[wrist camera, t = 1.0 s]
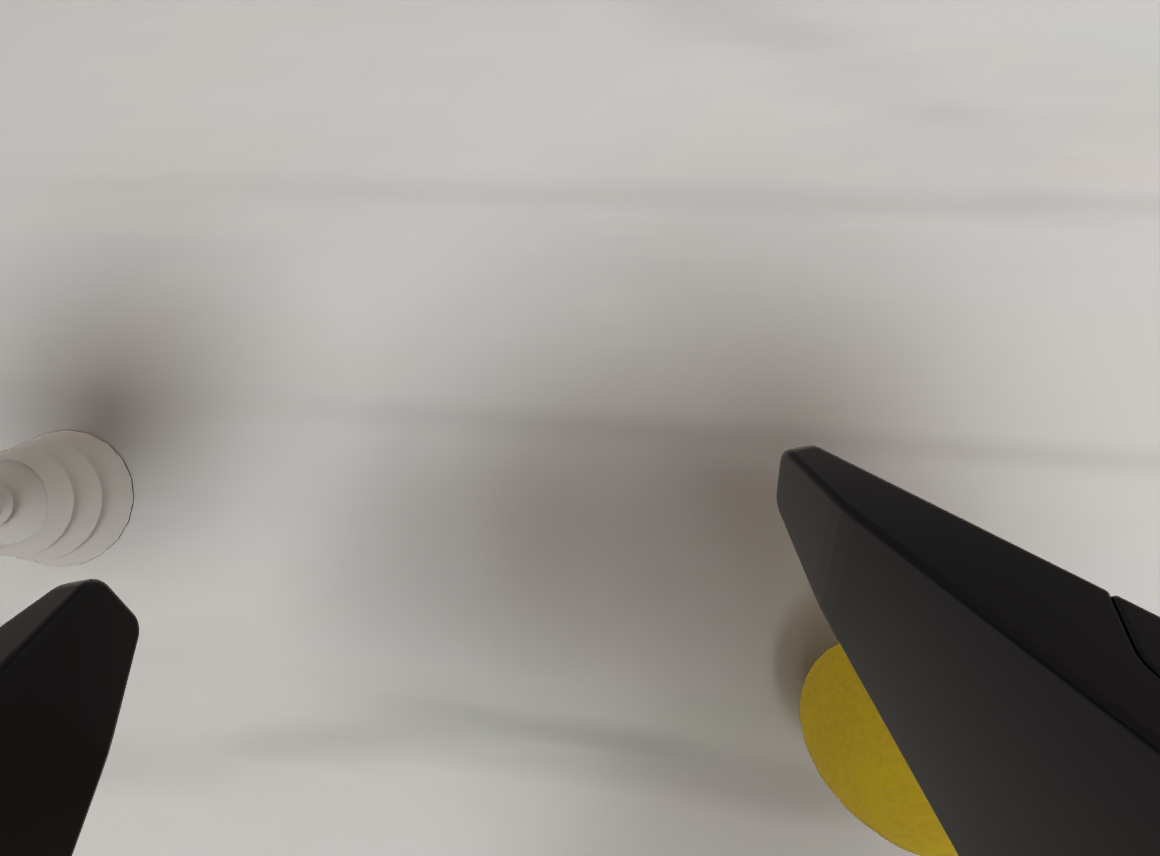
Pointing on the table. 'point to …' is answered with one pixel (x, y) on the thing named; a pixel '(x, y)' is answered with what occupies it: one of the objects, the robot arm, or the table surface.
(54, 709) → the robot arm
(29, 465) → the chalice
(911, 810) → the lemon
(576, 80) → the table surface
